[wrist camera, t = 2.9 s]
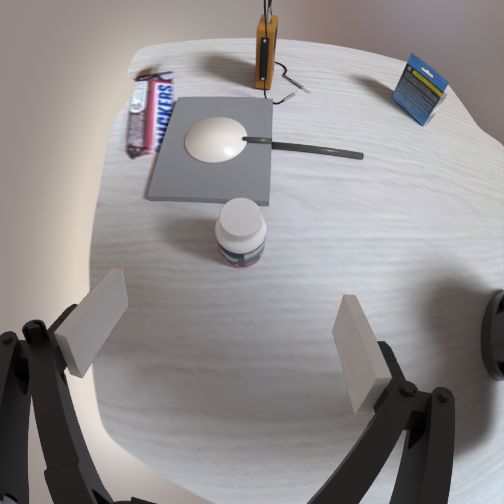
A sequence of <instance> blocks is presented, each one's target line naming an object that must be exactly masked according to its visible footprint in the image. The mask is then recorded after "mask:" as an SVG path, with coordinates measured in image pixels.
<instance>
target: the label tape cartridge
mask: <svg viewBox="0 0 504 504" xmlns="http://www.w3.org/2000/svg"><path fill="white" fill-rule="evenodd" d="M421 67H423V68H424V69H426V70H429V71H430V73H431V74H432V75H433V77H434V78H432V77H430V76H429V75H428V74H427V73H425V72H424V71H423V70H422V69H421ZM448 83H449V82H447V81H446V80H445V79H444V78H443V77H442V76H440V75H439V74H438V73H437V72H436V71H435V70H433V69H432V68H431V67H430V66H428V65H427V64H426V63H424V62H423V61H422V60H420V59H419V58H418V57H417V56H415V55H414V54H413V53H412V54H411V56H410V58H409V60H408V63H407V64H406V67H405V69H404V71H403V74H402V76H401V78H400V80H399V82H398V84H397V87H396V89H395V91H394V93H393V95H392V99H393V100H394V101H396V102H397V103H398V104H399V105H400V106H401V107H403V108H404V109H405V110H406V111H407V112H408V113H409V114H410V115H411V116H413V117H414V118H415V119H416V120H417V121H418V122H419V123H420V124H421V125H422V126H424V125H426V124H427V123H429V122H430V121H431V119H432V118H433V116H434V115H435V113H436V112H437V110H438V109H439V107H440V105H441V104H442V102H443V101H444V99H445V97H446V96H447V94H446V93H445V92H444V90H445V89H446V87H447V85H448Z"/></svg>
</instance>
